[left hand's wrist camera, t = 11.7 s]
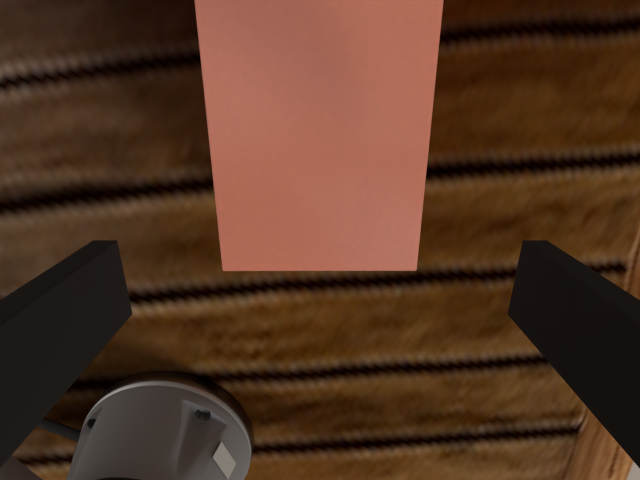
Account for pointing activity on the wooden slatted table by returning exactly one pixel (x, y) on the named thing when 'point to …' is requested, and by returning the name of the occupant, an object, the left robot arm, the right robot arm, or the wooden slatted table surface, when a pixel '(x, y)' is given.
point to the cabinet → (319, 129)
